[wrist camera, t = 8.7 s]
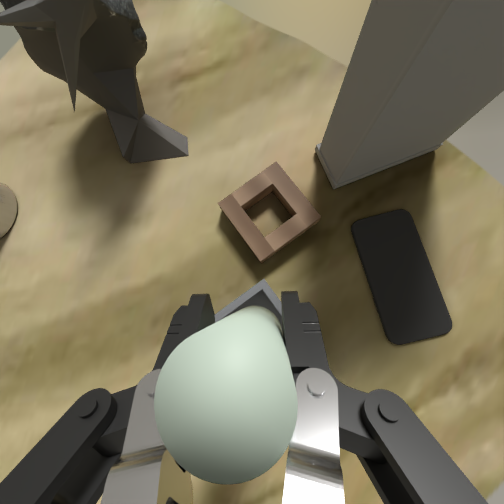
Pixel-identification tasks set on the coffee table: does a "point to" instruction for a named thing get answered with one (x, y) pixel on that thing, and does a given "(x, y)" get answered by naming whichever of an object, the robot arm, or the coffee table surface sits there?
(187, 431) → the pale green rounded cylinder
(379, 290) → the phone
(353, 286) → the coffee table surface
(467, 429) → the coffee table surface
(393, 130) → the tall grey upright box
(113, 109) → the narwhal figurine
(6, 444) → the coffee table surface
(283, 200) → the brown hollow square block
